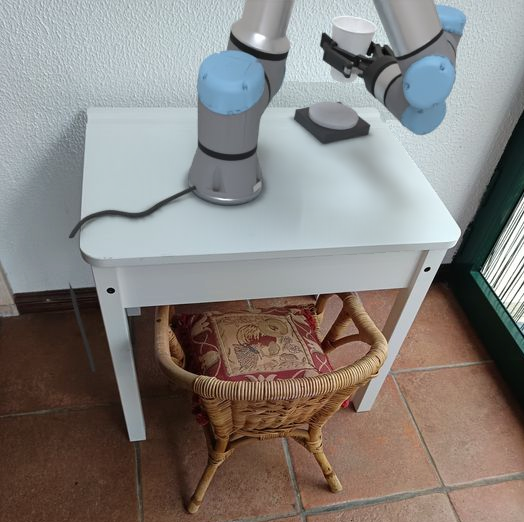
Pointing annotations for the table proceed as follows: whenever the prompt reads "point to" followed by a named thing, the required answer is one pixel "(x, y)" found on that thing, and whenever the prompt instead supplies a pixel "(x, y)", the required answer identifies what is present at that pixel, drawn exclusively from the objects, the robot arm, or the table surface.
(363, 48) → the cup
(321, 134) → the scale
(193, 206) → the table surface
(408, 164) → the table surface
